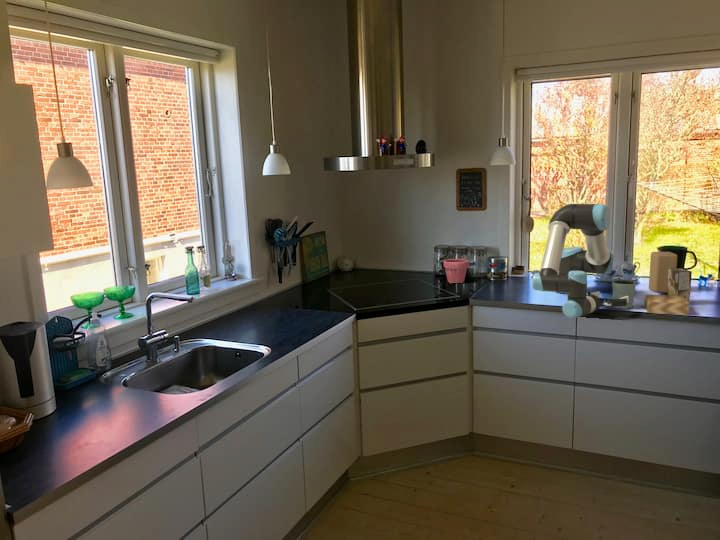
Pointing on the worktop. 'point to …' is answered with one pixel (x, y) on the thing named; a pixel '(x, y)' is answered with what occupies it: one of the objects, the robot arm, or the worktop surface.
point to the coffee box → (679, 283)
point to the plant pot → (455, 270)
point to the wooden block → (661, 270)
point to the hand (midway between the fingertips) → (613, 296)
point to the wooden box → (666, 304)
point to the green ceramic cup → (624, 291)
